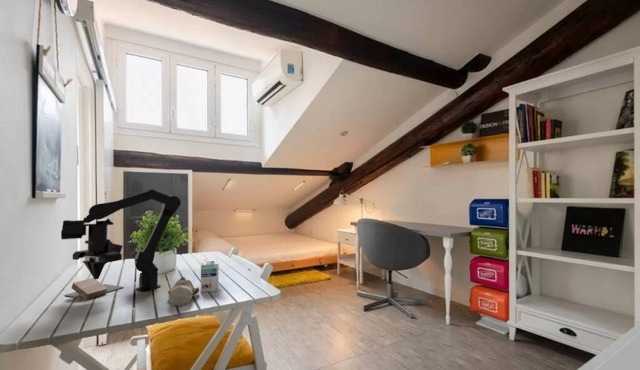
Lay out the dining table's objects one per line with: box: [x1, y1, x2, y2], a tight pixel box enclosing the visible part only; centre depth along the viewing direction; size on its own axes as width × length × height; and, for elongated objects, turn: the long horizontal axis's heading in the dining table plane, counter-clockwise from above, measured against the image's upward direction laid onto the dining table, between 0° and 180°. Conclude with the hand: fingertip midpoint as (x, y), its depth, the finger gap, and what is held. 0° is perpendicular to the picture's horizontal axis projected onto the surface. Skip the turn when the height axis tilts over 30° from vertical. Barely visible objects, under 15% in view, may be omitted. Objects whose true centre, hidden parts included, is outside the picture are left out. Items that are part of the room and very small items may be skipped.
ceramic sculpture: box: [167, 277, 200, 307], centre depth 104 cm, size 11×9×15 cm
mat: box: [64, 283, 124, 300], centre depth 114 cm, size 12×14×1 cm
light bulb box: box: [200, 258, 219, 293], centre depth 119 cm, size 11×7×11 cm, turn 22°
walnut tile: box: [71, 277, 108, 300], centre depth 110 cm, size 2×7×9 cm
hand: (96, 279), depth 109 cm, fingers closed
